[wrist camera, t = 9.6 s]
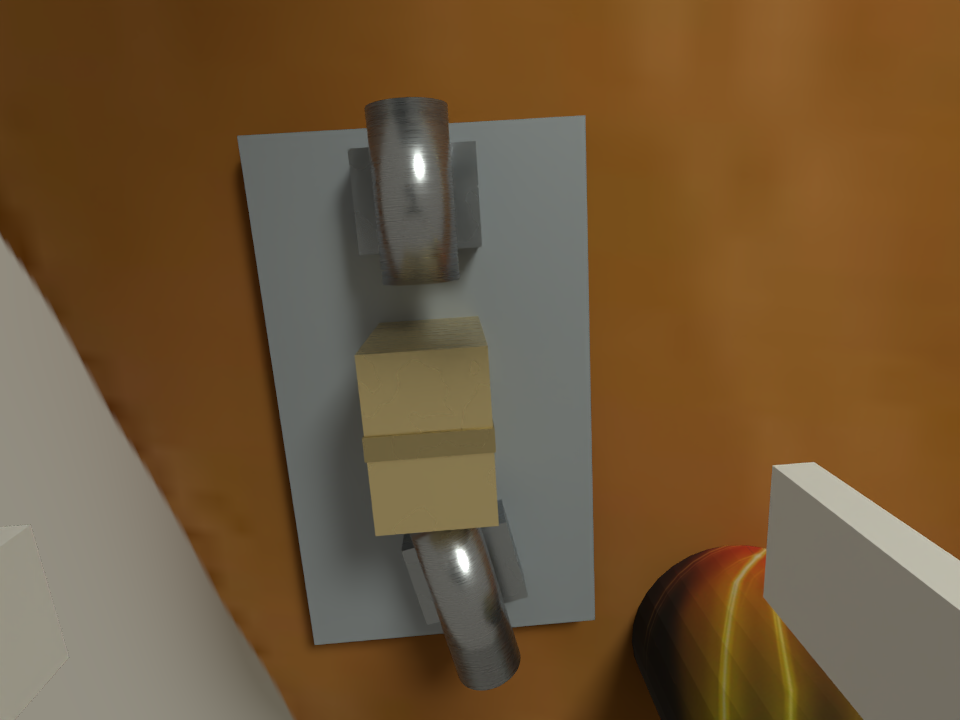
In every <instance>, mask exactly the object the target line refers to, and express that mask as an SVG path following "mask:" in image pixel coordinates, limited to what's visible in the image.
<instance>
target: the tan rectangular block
mask: <svg viewBox="0 0 960 720" xmlns="http://www.w3.org/2000/svg"><path fill="white" fill-rule="evenodd" d="M354 356H355V364H356V373H357V381H358V390H359V398H360V407H361V416H362V424H363V433H364V435H363V437H362V443H363V452H364V460H365V463H367V467H368V475H369V484H370V493H371V501H372V510H373V518H374V527H375V535H376V536H383V535H395V534H407V533H420V532H432V531H444V530H456V529H468V528H480V527H492V526H499V521H498V504H497V488H496V471H495V455H494V453H495V452H496V442H495V428H494V423H493V419H492V406H491V389H490V373H489V357H488V345H487V342H486V338H485V335H484V332H483V329H482V326H481V323H480V320H479V316H472V317H457V318H443V319H429V320H414V321H400V322H386V323H379V324H378V325H377V327H376V328H375V329H374V331H373V332H372V333H371V334H370V336H369V337H368V338H367V340H366V341H365V342H364V344H363V345H362V346H361V348H360V349H359V350H358V351H357V353H356V354H355V355H354Z"/></svg>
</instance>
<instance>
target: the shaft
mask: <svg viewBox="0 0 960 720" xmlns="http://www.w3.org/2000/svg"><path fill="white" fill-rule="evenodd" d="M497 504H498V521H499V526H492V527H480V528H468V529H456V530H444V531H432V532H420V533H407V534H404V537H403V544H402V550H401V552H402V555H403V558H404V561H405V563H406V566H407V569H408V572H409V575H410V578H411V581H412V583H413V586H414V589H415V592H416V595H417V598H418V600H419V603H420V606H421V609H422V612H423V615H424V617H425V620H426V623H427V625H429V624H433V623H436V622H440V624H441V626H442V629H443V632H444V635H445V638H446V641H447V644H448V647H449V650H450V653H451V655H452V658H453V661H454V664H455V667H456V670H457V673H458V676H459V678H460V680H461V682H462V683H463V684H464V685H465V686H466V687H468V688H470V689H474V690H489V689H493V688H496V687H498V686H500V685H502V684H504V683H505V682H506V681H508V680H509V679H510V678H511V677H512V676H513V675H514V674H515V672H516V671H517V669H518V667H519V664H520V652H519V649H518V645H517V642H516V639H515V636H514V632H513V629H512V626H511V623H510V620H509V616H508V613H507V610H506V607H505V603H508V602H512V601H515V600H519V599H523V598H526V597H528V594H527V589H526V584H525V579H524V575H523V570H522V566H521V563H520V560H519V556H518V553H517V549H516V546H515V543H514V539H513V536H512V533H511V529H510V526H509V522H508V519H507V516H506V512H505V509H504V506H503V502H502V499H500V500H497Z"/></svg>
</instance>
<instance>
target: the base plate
mask: <svg viewBox="0 0 960 720" xmlns="http://www.w3.org/2000/svg"><path fill="white" fill-rule="evenodd" d="M449 137H450V142H465V141H476V155H477V171H478V187H479V204H480V220H481V236H482V247H477V248H462V249H458V263H459V277H460V279H458V280H455V281H449V282H443V283H434V284H423V285H405V286H390V285H383V283H382V273H381V263H380V254H371V255H359V249H358V240H357V231H356V222H355V213H354V204H353V195H352V186H351V177H350V168H349V159H348V150H347V149H348V148H365V147H369V146H368V136H367V128H363V129H346V130H329V131H312V132H295V133H278V134H261V135H244V136H237V138H238V145H239V151H240V158H241V164H242V171H243V177H244V184H245V191H246V197H247V204H248V210H249V217H250V223H251V230H252V237H253V243H254V250H255V256H256V263H257V269H258V276H259V283H260V289H261V296H262V302H263V309H264V315H265V322H266V329H267V335H268V342H269V348H270V355H271V361H272V368H273V375H274V381H275V388H276V394H277V401H278V407H279V414H280V421H281V427H282V434H283V440H284V447H285V453H286V460H287V466H288V473H289V480H290V486H291V493H292V499H293V506H294V512H295V519H296V526H297V532H298V539H299V545H300V552H301V558H302V565H303V572H304V578H305V585H306V591H307V598H308V604H309V611H310V618H311V624H312V631H313V637H314V644H315V645H320V644H331V643H342V642H354V641H365V640H376V639H387V638H398V637H409V636H420V635H431V634H443V633H444V632H443V629H442V626H441V624H440V622H436V623H433V624H429V625H427V623H426V620H425V617H424V615H423V612H422V609H421V606H420V603H419V600H418V598H417V595H416V592H415V589H414V586H413V583H412V581H411V578H410V575H409V572H408V569H407V566H406V563H405V561H404V558H403V555H402V552H401V550H402V544H403V537H404V534H395V535H383V536H376V535H375V527H374V518H373V510H372V501H371V493H370V484H369V475H368V467H367V463H365V460H364V452H363V443H362V437H363V435H364V433H363V424H362V416H361V407H360V398H359V390H358V381H357V373H356V364H355V356H354V355H355V354H356V353H357V351H358V350H359V349H360V348H361V346H362V345H363V344H364V342H365V341H366V340H367V338H368V337H369V336H370V334H371V333H372V332H373V331H374V329H375V328H376V327H377V325H378V324H379V323H386V322H400V321H414V320H429V319H443V318H457V317H472V316H479V320H480V323H481V326H482V329H483V332H484V335H485V338H486V342H487V345H488V357H489V373H490V389H491V406H492V419H493V423H494V428H495V442H496V452H495V453H494V455H495V471H496V488H497V500H500V499H502V502H503V506H504V509H505V512H506V516H507V519H508V522H509V526H510V529H511V533H512V536H513V539H514V543H515V546H516V549H517V553H518V556H519V560H520V563H521V566H522V570H523V575H524V579H525V584H526V589H527V594H528V597H526V598H523V599H519V600H515V601H512V602H508V603H505V607H506V610H507V613H508V616H509V620H510V623H511V626H512V627H520V626H532V625H543V624H554V623H565V622H576V621H587V620H595V597H594V545H593V494H592V442H591V390H590V338H589V286H588V235H587V183H586V131H585V116H568V117H551V118H534V119H517V120H500V121H483V122H466V123H449Z"/></svg>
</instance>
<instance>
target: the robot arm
mask: <svg viewBox="0 0 960 720" xmlns="http://www.w3.org/2000/svg"><path fill="white" fill-rule="evenodd" d="M763 597H764V599H765V600H766V601H767V602H768V604H769V605H770V606H771V607H772V608H773V610H774V611H775V612H776V613H777V615H778V616H779V617H780V618H781V619H782V621H783V622H784V623H785V624H786V626H787V627H788V628H789V629H790V630H791V632H792V633H793V634H794V635H795V637H796V638H797V639H798V640H799V641H800V643H801V644H802V645H803V646H804V647H805V649H806V650H807V651H808V652H809V654H810V655H811V656H812V657H813V658H814V660H815V661H816V662H817V663H818V665H819V666H820V667H821V668H822V669H823V671H824V672H825V673H826V674H827V676H828V677H829V678H830V679H831V680H832V682H833V683H834V684H835V685H836V687H837V688H838V689H839V690H840V691H841V693H842V694H843V695H844V696H845V698H846V699H847V700H848V701H849V702H850V704H851V705H852V706H853V707H854V709H855V710H856V711H857V712H858V713H859V715H860V716H861V717H862V718H863V720H960V561H959V560H958V559H957V558H955V557H954V556H952V555H951V554H949V553H948V552H946V551H945V550H943V549H942V548H940V547H939V546H937V545H936V544H934V543H933V542H931V541H930V540H928V539H927V538H925V537H924V536H923V535H921V534H920V533H918V532H917V531H915V530H914V529H912V528H911V527H909V526H908V525H906V524H905V523H903V522H902V521H900V520H899V519H897V518H896V517H894V516H893V515H891V514H890V513H889V512H887V511H886V510H884V509H883V508H881V507H880V506H878V505H877V504H875V503H874V502H872V501H871V500H869V499H868V498H866V497H865V496H863V495H862V494H860V493H859V492H857V491H856V490H855V489H853V488H852V487H850V486H849V485H847V484H846V483H844V482H843V481H841V480H840V479H838V478H837V477H835V476H834V475H832V474H831V473H829V472H828V471H826V470H825V469H824V468H822V467H821V466H819V465H818V464H816V463H815V462H810V463H797V464H785V465H773V468H772V482H771V496H770V510H769V523H768V537H767V551H766V565H765V579H764V593H763ZM68 658H69V654H68V651H67V647H66V644H65V640H64V637H63V634H62V630H61V627H60V623H59V620H58V616H57V613H56V609H55V606H54V603H53V599H52V596H51V592H50V589H49V585H48V582H47V578H46V575H45V571H44V568H43V565H42V561H41V558H40V554H39V551H38V547H37V544H36V541H35V537H34V534H33V530H32V527H31V525H17V526H5V527H0V720H15V719H16V718H17V717H18V716H19V715H20V713H21V712H22V711H23V710H24V709H25V708H26V706H27V705H28V704H29V703H30V702H31V701H32V699H34V697H35V696H36V695H37V694H38V693H39V692H40V690H41V689H42V688H43V687H44V686H45V685H46V683H47V682H48V681H49V680H50V679H51V678H52V677H53V676H54V674H55V673H56V672H57V671H58V670H59V669H60V668H61V666H62V665H63V664H64V663H65V662H66V661H67V659H68Z"/></svg>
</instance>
